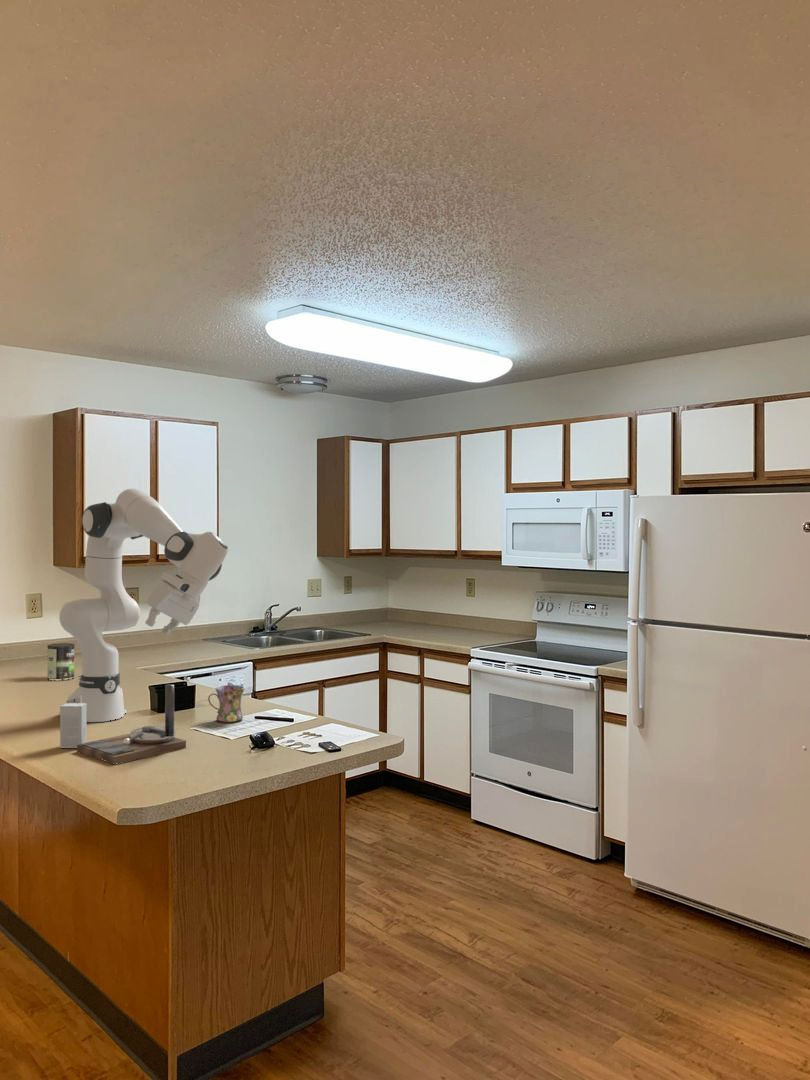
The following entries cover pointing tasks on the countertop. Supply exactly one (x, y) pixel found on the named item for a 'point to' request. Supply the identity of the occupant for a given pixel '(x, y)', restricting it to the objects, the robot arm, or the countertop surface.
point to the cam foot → (157, 732)
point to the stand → (126, 748)
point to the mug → (229, 702)
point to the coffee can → (60, 660)
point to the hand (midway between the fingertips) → (156, 629)
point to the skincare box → (73, 725)
